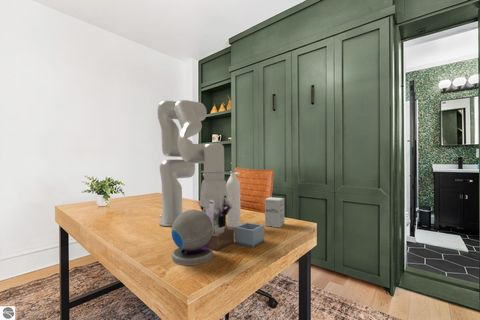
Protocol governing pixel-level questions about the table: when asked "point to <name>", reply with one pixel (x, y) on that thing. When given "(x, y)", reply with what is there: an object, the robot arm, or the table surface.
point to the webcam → (192, 238)
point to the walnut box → (221, 240)
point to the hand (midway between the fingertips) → (214, 224)
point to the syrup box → (214, 218)
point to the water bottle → (234, 201)
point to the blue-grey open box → (249, 234)
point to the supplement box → (274, 212)
